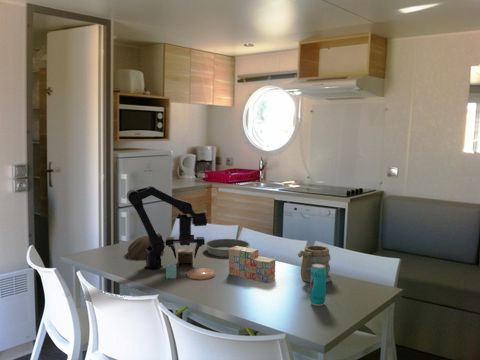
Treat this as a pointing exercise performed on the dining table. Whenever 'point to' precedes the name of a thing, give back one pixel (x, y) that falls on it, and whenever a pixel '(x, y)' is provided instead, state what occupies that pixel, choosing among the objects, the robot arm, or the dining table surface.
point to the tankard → (314, 261)
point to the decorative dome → (139, 248)
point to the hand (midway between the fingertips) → (185, 258)
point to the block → (170, 271)
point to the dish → (201, 273)
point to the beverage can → (318, 284)
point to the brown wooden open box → (185, 256)
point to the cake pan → (224, 246)
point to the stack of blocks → (250, 264)
